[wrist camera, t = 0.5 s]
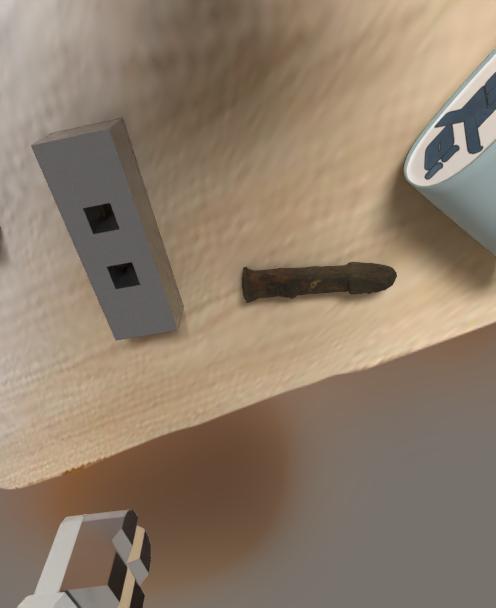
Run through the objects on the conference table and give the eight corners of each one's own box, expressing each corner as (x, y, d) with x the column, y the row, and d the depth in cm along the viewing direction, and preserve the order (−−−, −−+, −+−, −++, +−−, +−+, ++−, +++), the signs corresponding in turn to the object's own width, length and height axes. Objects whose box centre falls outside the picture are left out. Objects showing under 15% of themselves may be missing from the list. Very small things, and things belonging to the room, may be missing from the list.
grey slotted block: (51, 133, 50) (31, 145, 45) (122, 117, 49) (109, 128, 44) (125, 316, 62) (115, 340, 57) (183, 306, 61) (178, 330, 57)
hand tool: (243, 290, 60) (243, 310, 56) (241, 263, 58) (241, 281, 54) (388, 285, 60) (398, 304, 56) (392, 257, 58) (403, 275, 54)
